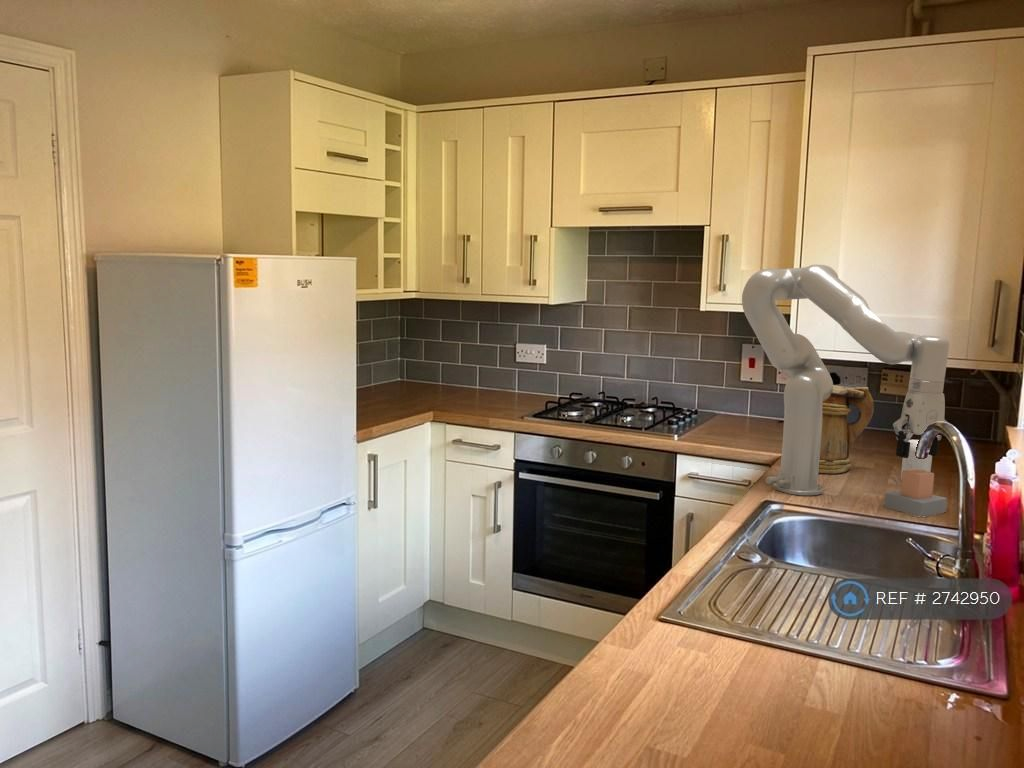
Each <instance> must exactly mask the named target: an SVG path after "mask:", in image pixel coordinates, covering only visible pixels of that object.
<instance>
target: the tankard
mask: <svg viewBox="0 0 1024 768" xmlns="http://www.w3.org/2000/svg"><path fill="white" fill-rule="evenodd" d="M851 405H852V406H853V407H856V408H857V409H858V411H859V412H858V415H859V416H858V418H857V419H856V420H855V421H853V422H848V420H847V418H848V417H847V416H848V415H849V414H851V413H852V412H853V410H852V409H851V408H850V406H851ZM874 408H875V407H874V399H873V397H872V395H871V393H870V391H869V387H867V386H861V387H859V386H857V387H850V386H843V385H836V384H833V391H832V393H831V395H830V397H829V398H828V399H827V400H825V401H823V402H822V435H821V447H820V459H819V471H818V474H827V475H828V474H829V475H831V474H835V475H838V474H843V473H846V472H847V471H849V469H850V468H851V467H852V463H851V461H852V460H851V456H850V452H851V448H852V446H853V443H854V442H855V440H856V439H857V438H858V437H859V435H860V434H862V432H864V430H865V429H866V428H867V426H868V425H869V423H870V422H871V420H872V418H873V414H874V410H875V409H874Z"/></svg>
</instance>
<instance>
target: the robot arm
mask: <svg viewBox="0 0 1024 768" xmlns="http://www.w3.org/2000/svg"><path fill="white" fill-rule="evenodd" d="M805 299H808V300H809V301H811V302H812V303H813V304H814V305H815V306H817V307H818V308H820V310H822V312H824V313H825V314H827V316H829V317H830V318H832V319H833V320H834V321H835V322H837V324H838V325H840V327H841V328H842V329H843V330H844V331H845V332H847V334H848V335H849V336H850V337H851V338H852V339H853V340H855V341H856V342H857V343H858V344H859V345H860V346H861V347H862V348H864V349H865V350H866V351H868V352H869V354H872V356H874V357H875V359H877V360H879V361H880V362H882V363H884V364H888V365H897V364H901V363H903V362H911V367H910V375H909V383H908V389H907V390H908V391H907V392H906V395H905V398H904V400H903V401H904V402H903V406H902V409H901V410H902V411H901V415H900V417H899V419H897V420H896V421H894V422H893V423H892V427H893V432H894V435H895V438H896V439H895V440H897V444H896V452H895V455H896V456H897V457H901V458H902V459H903V458H908V457H909V449H910V442H908V441H909V440H911V438H912V437H913V435H917V436H923V435H922V434H923V433H924V431H925V430H926V429H927V427H928V426H929V425H930V424H931V423H933V422H936V421H945V422H948V421H947V420H946V419H945V413H946V411H945V410H946V407H945V406H946V404H945V403H946V402H945V401H946V400H945V399H946V398H945V393H943V392H944V385H945V379H946V371H947V364H948V358H949V357H948V356H949V351H950V341H949V339H948V338H945V337H943V336H935V335H926V334H925V335H920V334H919V335H918V334H913V333H910V332H905V331H895V330H894V329H892V328H891V327H890V326H889V325H887V324H886V323H884V322H883V321H882V320H881V318H879V317H878V316H877V315H876V314H875V313H874V312H873V311H872V309H871V308H870V307H869V304H868V303H867V300H866V299H865V298H864V297H863V296H862V295H861V294H859V293H858V292H857V291H856V290H854V289H852V288H851V287H850V286H849V285H848V284H846V283H845V282H844V281H842V280H841V279H840V278H839V275H838V273H837V272H836V270H835V269H833V268H832V267H831V266H829V265H825V264H810V265H808V266H803V267H792V268H791V267H790V268H764V269H760V270H758V271H757V272H754V273H753V274H752V275H751V276H750V278H748V279H747V282H746V283H745V285H744V287H743V290H742V294H741V306H742V309H743V312H744V316H745V317H746V319H747V322H748V323H749V325H750V327H751V328H752V330H753V332H754V334H755V336H756V337H757V340H758V342H759V343H760V345H761V348H762V349H763V351H764V352H765V354H766V356H767V358H768V361H769V362H770V364H771V365H772V366H773V367H774V368H775V369H777V370H778V371H782V372H783V371H785V372H786V373H787V374H788V376H789V377H790V378H789V379H788V380H787V382H786V383H785V386H784V390H783V406H784V413H783V415H784V417H783V428H782V430H783V435H782V447H781V460H780V471H777V473H776V475H775V476H767V477H765V484H767V485H773V489H775V490H776V491H778V492H782V493H785V494H789V495H795V496H818V495H822V494H823V493H824V487H823V485H821V484H819V483H818V480H819V473H818V471H819V459H820V447H821V435H822V402H823V401H825V400H827V399H828V398H829V397H830V395H831V393H832V391H833V385H834V382H833V379H832V377H831V375H830V372H829V371H828V369H827V367H826V365H825V364H824V362H823V360H822V359H821V356H820V355H819V352H817V350H816V348H815V346H814V345H813V344H812V342H811V341H810V340H809V339H808V338H807V336H804V335H802V334H801V333H800V334H799V333H794V332H793V330H792V328H791V327H790V325H789V324H788V322H787V319H786V318H785V316H784V315H783V313H782V312H781V311H780V308H779V307H777V303H776V301H777V302H778V301H787V300H789V301H790V300H791V301H792V300H805ZM942 435H943V434H942ZM942 435H937V436H936V438H935V439H934V441H933V444H932V446H931V449H930V452H929V454H928V455H932V457H937V456H938V452H939V451H938V450H939V443H940V441H941V439H942Z"/></svg>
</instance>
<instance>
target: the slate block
mask: <svg viewBox="0 0 1024 768" xmlns="http://www.w3.org/2000/svg"><path fill="white" fill-rule="evenodd" d="M947 505H948V498H947V497H944V496H941V495H936V494H933V493H932V497H930V498H923V499H916V498H912V497H909V496H906V495H902V494H901V489H898V490H895V491H893V490H892V491H889V492H884V500H883V507H884V508H886V509H889V508H890V510H893V511H896V510H897V512H899V511H901V512H900V513H903V512H904V513H903V514H906V513H908V514H907V515H909V514H912V515H911V516H913V515H915V516H914V517H916V516H920V517H922V518H924V517H923V516H927V517H930V516H929V515H932V516H935V515H934V514H937V515H940V514H939V513H942V514H945V513H944V512H947ZM920 517H919V518H920Z"/></svg>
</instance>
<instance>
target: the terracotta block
mask: <svg viewBox="0 0 1024 768" xmlns="http://www.w3.org/2000/svg"><path fill="white" fill-rule="evenodd" d="M934 480H935V472H931V471H930V472H928V471H924V470H920V469H909V470H903V473H902V480H901V484H900V485H901V486H900V490H901V494H902V495H906V496H909V497H912V498H916V499H923V498H930V497H932V494H933V492H934V484H935V483H934Z"/></svg>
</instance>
